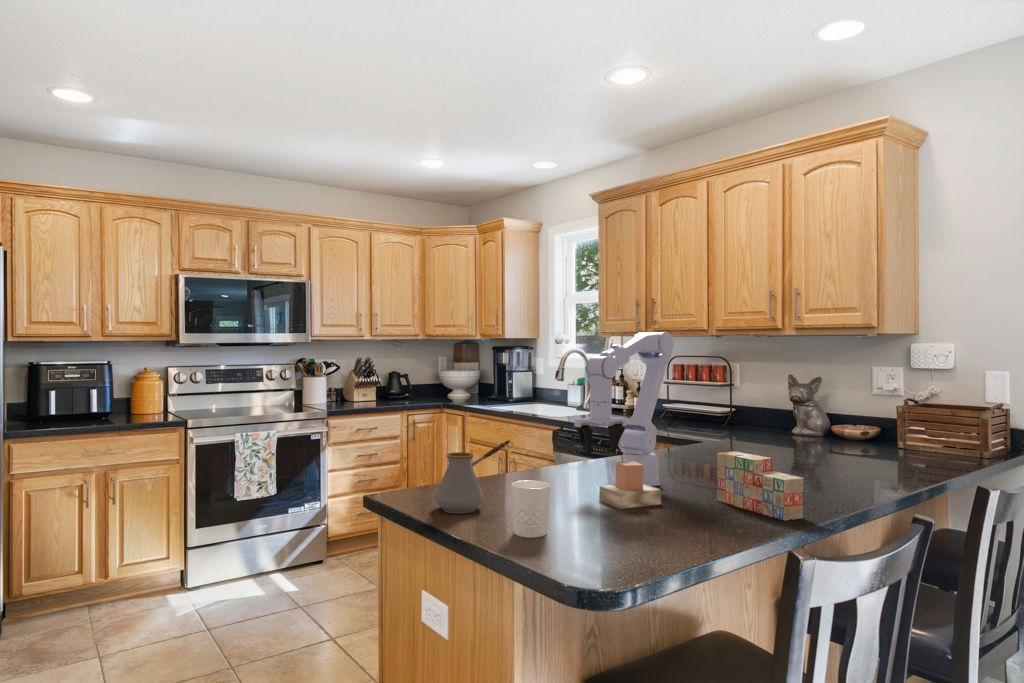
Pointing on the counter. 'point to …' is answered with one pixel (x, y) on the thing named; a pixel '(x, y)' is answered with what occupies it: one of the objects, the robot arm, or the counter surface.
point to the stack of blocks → (758, 486)
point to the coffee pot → (462, 483)
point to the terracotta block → (629, 475)
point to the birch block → (629, 496)
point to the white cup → (530, 508)
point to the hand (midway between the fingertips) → (600, 453)
